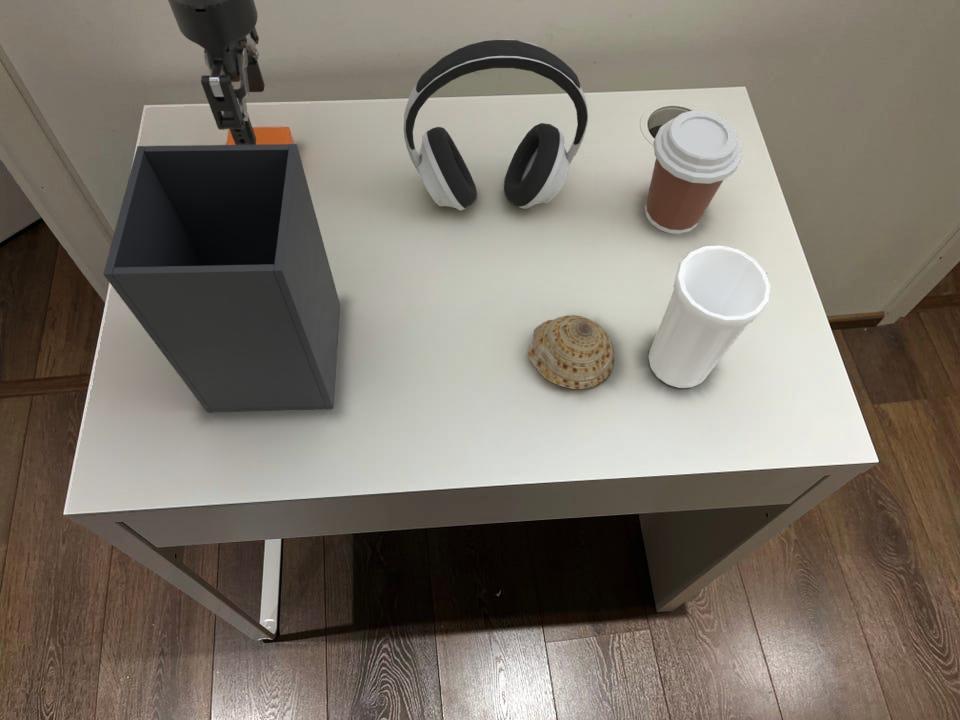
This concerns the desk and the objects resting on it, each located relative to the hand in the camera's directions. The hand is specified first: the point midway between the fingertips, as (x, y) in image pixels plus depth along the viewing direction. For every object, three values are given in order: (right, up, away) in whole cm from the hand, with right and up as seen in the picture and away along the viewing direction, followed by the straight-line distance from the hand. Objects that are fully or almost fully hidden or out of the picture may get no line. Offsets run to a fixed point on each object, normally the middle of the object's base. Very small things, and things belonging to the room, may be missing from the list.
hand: (251, 116), depth 78 cm
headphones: (+27, -8, +4) cm, 28 cm away
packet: (0, -3, +6) cm, 7 cm away
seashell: (+35, -27, -6) cm, 45 cm away
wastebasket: (+5, -27, -7) cm, 28 cm away
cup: (+46, -28, -6) cm, 54 cm away
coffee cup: (+48, -10, +4) cm, 49 cm away
